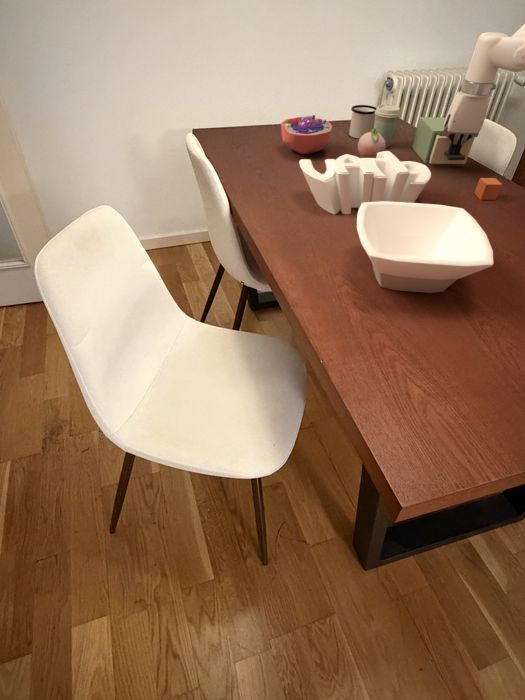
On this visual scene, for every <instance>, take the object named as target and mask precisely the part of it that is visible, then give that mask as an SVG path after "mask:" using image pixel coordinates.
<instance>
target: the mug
mask: <svg viewBox="0 0 525 700" xmlns="http://www.w3.org/2000/svg"><path fill="white" fill-rule="evenodd" d="M376 109H377V106H373V105H369V104H356V105H353V106H351V117H350V124H349V131H348V136H350V137H351V138H353V139H358V140H360V138H361V137H362V136H363V135H364V134H365V133H368V132H371V130H374V123H375V110H376Z"/></svg>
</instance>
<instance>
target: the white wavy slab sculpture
mask: <svg viewBox="0 0 525 700" xmlns="http://www.w3.org/2000/svg"><path fill="white" fill-rule="evenodd" d="M324 164H325V168H326V169H325V172H324V173H321V172H318V170H316V169H315V168H314V165H313V162H312V160H311V159H310V158H309V159H307V158H303V159H300V160H299V167H300V168H301V169H300V170H301V172H302V173H303V176H304V179H305V180H306V183H307V186H308V187H309V189H310V192H311V194H312V196H313V199H314V201H315V202H316V204H317V205H318V206H319V207H320V208H321V209H323V210H324V211H326V212H327V213H329V214H331V215H336V214H338V213H339V212H341V214H342V215H351V214H352V209H353V208H355V209H356V208H357V209H359V208H360V206H361V204H362V203H364V202H380V201H388V202H406V203H416V201H417V199H418V198H419V196H420V194H421V193H422V192H423V190H424V188H425V187H426V185H427V184H428V182H429V181H430V179H431V177H432V172H431V170H430V169H429V167H428V166H427V165H426V164H424V163H420V162H417V161H413V160H412V161H411V160H403V161H402V160H400V159H399V158H398V157H397V156H396V155H395V154H394V153H393V152H391V151H390V150H384V151H382V152H378V153H377V157H376V158H363V157H358V156H356V155H352V154H349V153H346V154H342V155H340V156H338V157H337V158H336V159H335V158H326V159H324Z"/></svg>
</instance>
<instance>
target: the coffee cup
mask: <svg viewBox="0 0 525 700" xmlns="http://www.w3.org/2000/svg"><path fill="white" fill-rule="evenodd" d="M376 108H377V109H376V110H375V119H374V125H373V130H375V129H376V130H377V131H378V133H380V134H381V136H382V137H383V138H384V140H385V149H387V148H389V147H390V145H391V142H392V139H393V136H394V132H395V129H396V127H397V123H398V120H399V117H400V116H401V107H400V106H399V105H394V104H379V105H377V106H376Z"/></svg>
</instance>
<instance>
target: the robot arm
mask: <svg viewBox="0 0 525 700" xmlns="http://www.w3.org/2000/svg"><path fill="white" fill-rule="evenodd" d="M499 69H502V70H504V71H505V70H506V71H508V72H514V73H519V72H524V71H525V23H524V24H523V25H522V26H521V27H520V28H519V29H518V30H517V31H515V32H514V33H513V34H512V35H511V36H508V34H506V33H503V32H497V31H485V32H483V33H481V34H480V35H479V36H478V37H477V40H476V43H475V47H474V50H473V53H472V56H471V58H470V61H469V65H468V68H467V70H466V74H465V77H464V80H463V82H462V86H461V88H460V91H457V92H456V94H455V96H454V98H453V100H452V101H451V103H450V106H449V108H448V111H447V113H446V116H445V117H446V119H445V121H444V125H443V127H444V130H443V132H442V135H443V136H445V137H449V139H450V141H451V145H450V148H449V151H448V154H449V155H459V153H460V150H461V147H462V145H463V144H465V142H466V141H467V140H469V139H470V138H474V139H475V138H478V137H479V134H480V132H481V131H482V128H483V125H484V122H485V120H486V117H487V113H488V110H489V106H490V100H491V95H490V94H491V91H495V90H496V88H497V84H496V83H494V82H495V79H496V76H497V73H498V71H499ZM459 134H460V136H459ZM458 137H459V139H458Z"/></svg>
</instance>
